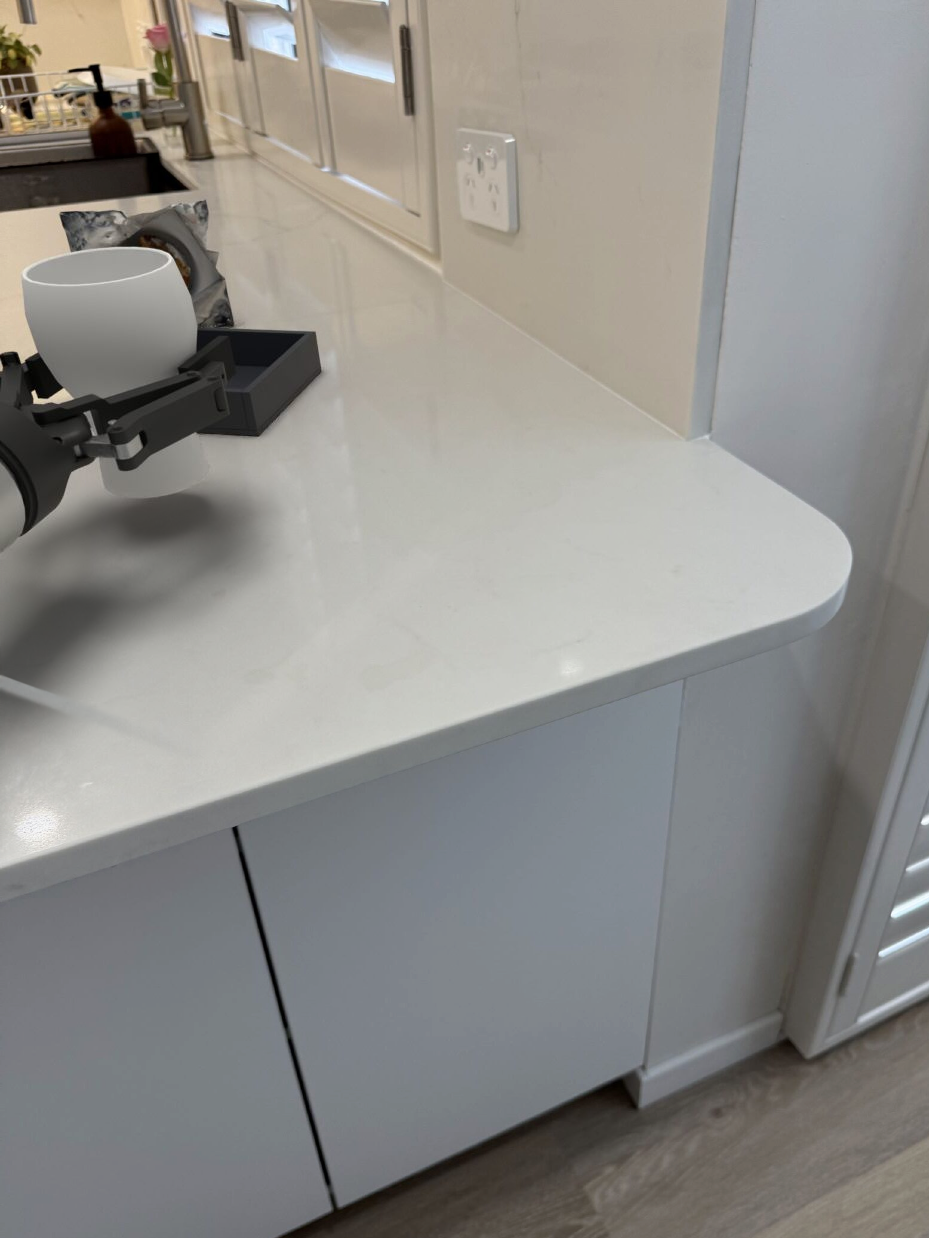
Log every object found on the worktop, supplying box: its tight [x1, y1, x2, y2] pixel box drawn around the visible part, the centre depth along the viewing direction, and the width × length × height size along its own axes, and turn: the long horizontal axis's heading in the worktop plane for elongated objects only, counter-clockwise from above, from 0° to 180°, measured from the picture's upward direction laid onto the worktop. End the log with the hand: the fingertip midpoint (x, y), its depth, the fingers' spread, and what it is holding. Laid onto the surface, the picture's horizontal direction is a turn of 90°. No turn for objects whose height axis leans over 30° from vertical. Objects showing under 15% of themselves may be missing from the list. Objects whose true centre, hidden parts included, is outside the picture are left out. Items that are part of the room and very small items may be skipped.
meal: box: [58, 198, 235, 328], centre depth 104 cm, size 15×4×13 cm, turn 115°
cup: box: [20, 247, 211, 499], centre depth 66 cm, size 11×11×15 cm
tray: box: [88, 327, 322, 437], centre depth 90 cm, size 17×17×4 cm
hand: (156, 351), depth 69 cm, fingers closed on cup, 11 cm apart
